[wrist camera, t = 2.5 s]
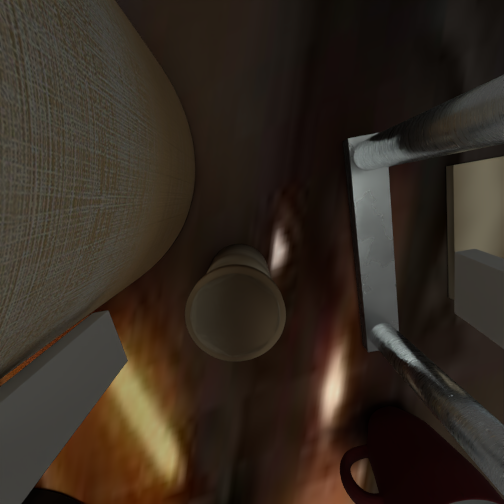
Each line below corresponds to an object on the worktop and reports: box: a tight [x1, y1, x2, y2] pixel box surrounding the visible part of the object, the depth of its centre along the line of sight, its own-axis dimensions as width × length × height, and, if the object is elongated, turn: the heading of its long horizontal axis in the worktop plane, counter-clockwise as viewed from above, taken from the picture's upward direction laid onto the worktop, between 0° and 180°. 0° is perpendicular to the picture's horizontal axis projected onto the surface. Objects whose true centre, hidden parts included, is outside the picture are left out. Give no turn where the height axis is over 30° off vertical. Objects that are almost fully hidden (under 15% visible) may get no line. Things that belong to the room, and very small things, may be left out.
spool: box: [185, 244, 286, 361], centre depth 20 cm, size 6×6×9 cm
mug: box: [340, 406, 504, 504], centre depth 23 cm, size 11×8×10 cm
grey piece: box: [343, 75, 504, 495], centre depth 15 cm, size 3×19×18 cm, turn 10°
